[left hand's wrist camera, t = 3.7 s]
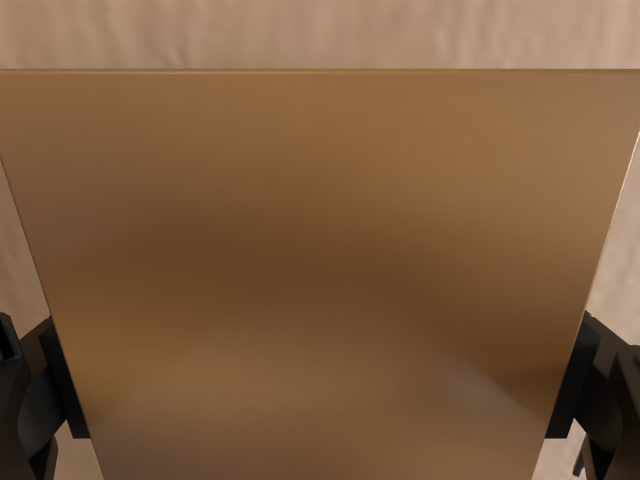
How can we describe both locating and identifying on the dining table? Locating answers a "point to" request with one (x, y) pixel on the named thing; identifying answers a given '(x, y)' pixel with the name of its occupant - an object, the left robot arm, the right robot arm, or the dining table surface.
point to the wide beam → (317, 259)
